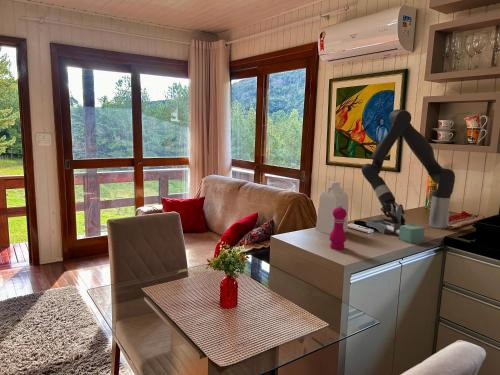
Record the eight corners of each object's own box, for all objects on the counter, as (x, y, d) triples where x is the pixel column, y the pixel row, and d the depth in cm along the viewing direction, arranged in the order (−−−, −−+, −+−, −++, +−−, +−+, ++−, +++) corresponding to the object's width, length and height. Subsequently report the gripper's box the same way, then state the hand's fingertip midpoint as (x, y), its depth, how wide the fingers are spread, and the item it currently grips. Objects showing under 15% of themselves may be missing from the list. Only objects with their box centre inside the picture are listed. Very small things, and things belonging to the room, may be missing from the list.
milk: (329, 226, 200) (332, 179, 196) (347, 231, 192) (351, 182, 188) (315, 230, 193) (318, 181, 188) (333, 235, 184) (337, 184, 180)
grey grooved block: (377, 226, 205) (377, 217, 204) (395, 232, 193) (396, 222, 192) (366, 227, 201) (366, 218, 200) (384, 233, 190) (385, 224, 189)
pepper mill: (326, 245, 169) (329, 202, 165) (342, 245, 169) (345, 202, 166) (331, 250, 161) (334, 206, 158) (347, 250, 162) (351, 206, 159)
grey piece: (388, 229, 194) (390, 203, 192) (416, 239, 179) (419, 211, 176) (383, 230, 193) (386, 204, 191) (412, 239, 177) (415, 211, 175)
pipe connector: (388, 214, 212) (412, 220, 200) (387, 223, 212) (411, 229, 201) (375, 217, 205) (400, 223, 193) (375, 226, 206) (399, 233, 194)
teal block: (411, 237, 185) (413, 224, 184) (423, 241, 179) (424, 227, 177) (398, 239, 181) (400, 225, 180) (410, 243, 175) (411, 229, 173)
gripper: (378, 191, 188) (395, 220, 179) (398, 190, 194) (415, 218, 185) (370, 200, 193) (385, 228, 185) (390, 198, 199) (405, 225, 191)
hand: (400, 222), depth 185 cm, fingers open, 4 cm apart
